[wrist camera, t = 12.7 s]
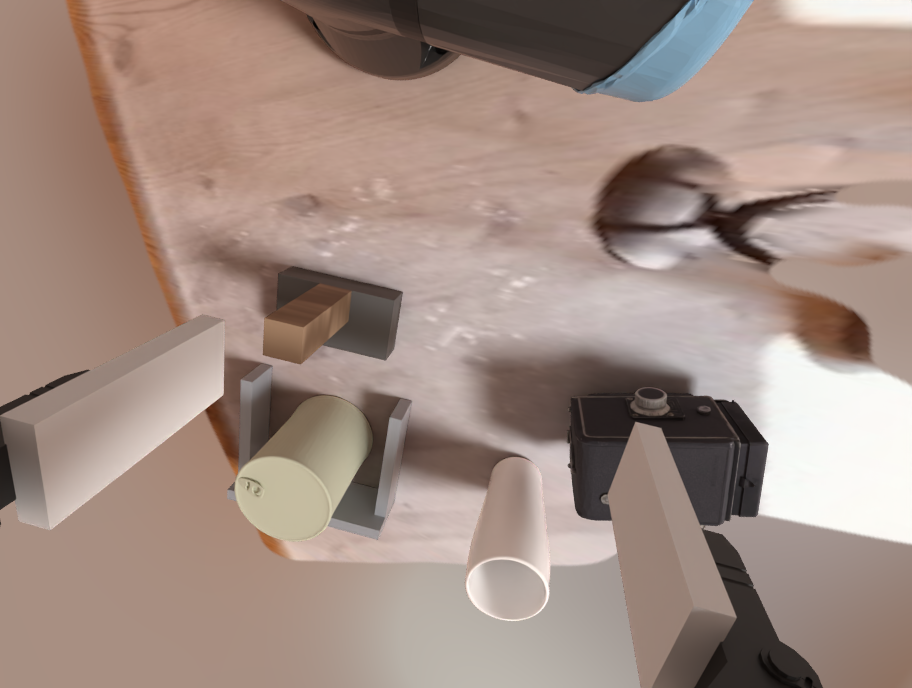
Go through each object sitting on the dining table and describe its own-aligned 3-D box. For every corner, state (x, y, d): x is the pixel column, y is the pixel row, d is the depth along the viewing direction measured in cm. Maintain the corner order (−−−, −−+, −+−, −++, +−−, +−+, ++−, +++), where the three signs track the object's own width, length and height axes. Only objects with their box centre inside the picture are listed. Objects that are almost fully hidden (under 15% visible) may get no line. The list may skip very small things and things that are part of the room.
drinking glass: (516, 513, 56) (506, 635, 42) (471, 473, 55) (446, 584, 41) (563, 478, 53) (569, 596, 39) (516, 436, 52) (505, 541, 38)
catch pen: (261, 363, 54) (229, 388, 49) (411, 401, 53) (396, 431, 47) (257, 465, 59) (227, 498, 54) (394, 502, 58) (378, 540, 52)
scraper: (293, 266, 50) (213, 305, 38) (402, 291, 49) (356, 340, 37) (289, 323, 52) (213, 377, 40) (394, 348, 51) (347, 411, 39)
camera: (571, 458, 53) (732, 467, 49) (563, 535, 43) (765, 555, 39) (568, 364, 50) (742, 366, 45) (558, 424, 40) (781, 433, 35)
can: (305, 380, 54) (243, 441, 43) (385, 418, 54) (343, 488, 43) (282, 446, 58) (219, 518, 47) (357, 481, 58) (312, 561, 47)
